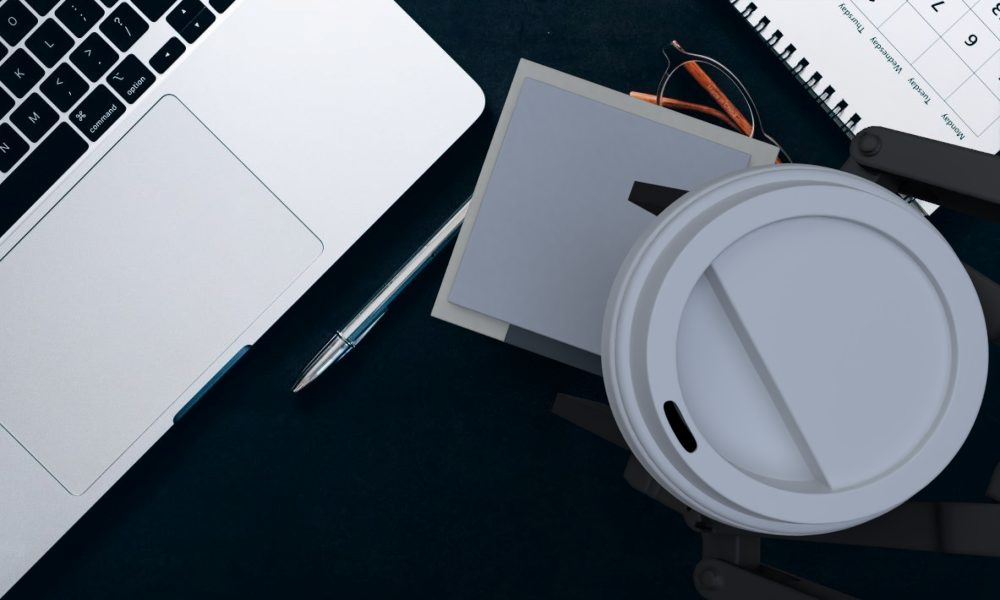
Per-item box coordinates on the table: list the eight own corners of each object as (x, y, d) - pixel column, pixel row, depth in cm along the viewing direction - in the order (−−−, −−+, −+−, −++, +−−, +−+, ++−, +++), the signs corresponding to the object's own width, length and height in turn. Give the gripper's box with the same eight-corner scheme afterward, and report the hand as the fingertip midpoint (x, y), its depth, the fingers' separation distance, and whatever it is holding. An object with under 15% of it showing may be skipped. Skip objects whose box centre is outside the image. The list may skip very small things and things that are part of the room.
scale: (678, 400, 44) (691, 409, 41) (435, 314, 44) (428, 316, 41) (766, 155, 44) (786, 144, 40) (520, 69, 44) (520, 52, 41)
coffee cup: (558, 227, 34) (590, 171, 19) (788, 203, 34) (1004, 127, 19) (581, 455, 34) (632, 579, 19) (811, 432, 34) (1046, 540, 19)
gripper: (1383, 1090, 17) (582, 559, 33) (1749, 160, 16) (754, 88, 33) (1424, 1327, 12) (450, 558, 28) (1963, -32, 11) (652, -2, 28)
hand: (614, 305), depth 30 cm, fingers closed on coffee cup, 7 cm apart
